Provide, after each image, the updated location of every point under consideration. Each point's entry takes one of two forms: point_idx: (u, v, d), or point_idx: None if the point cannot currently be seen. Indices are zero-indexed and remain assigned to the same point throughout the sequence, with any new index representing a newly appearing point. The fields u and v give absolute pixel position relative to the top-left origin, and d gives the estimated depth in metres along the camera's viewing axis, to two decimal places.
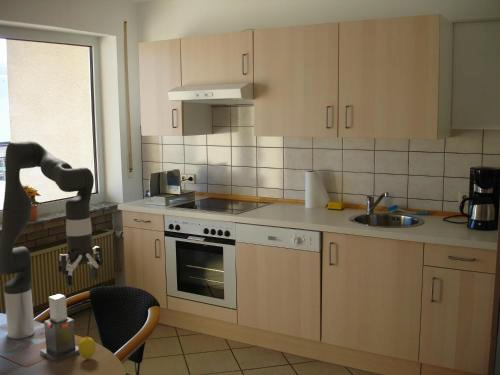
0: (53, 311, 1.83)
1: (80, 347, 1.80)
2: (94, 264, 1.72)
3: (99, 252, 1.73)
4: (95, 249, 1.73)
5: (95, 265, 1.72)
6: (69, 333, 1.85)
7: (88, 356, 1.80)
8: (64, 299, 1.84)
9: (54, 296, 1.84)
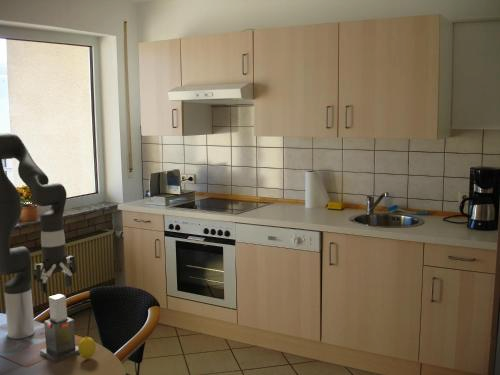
0: (53, 311, 1.83)
1: (80, 347, 1.80)
2: (68, 272, 1.85)
3: (72, 261, 1.87)
4: (69, 258, 1.86)
5: (69, 273, 1.86)
6: (69, 333, 1.85)
7: (88, 356, 1.80)
8: (64, 299, 1.84)
9: (54, 296, 1.84)
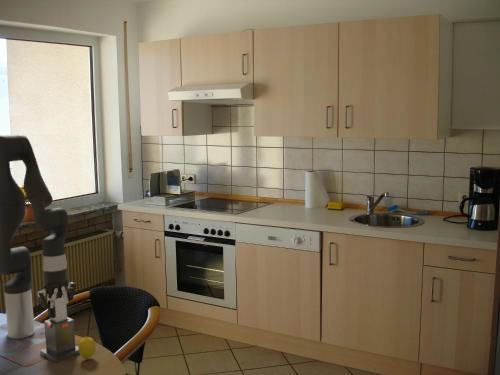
0: None
1: (80, 347, 1.80)
2: None
3: (73, 288, 1.87)
4: (70, 284, 1.87)
5: None
6: (69, 333, 1.85)
7: (88, 356, 1.80)
8: (64, 299, 1.84)
9: None
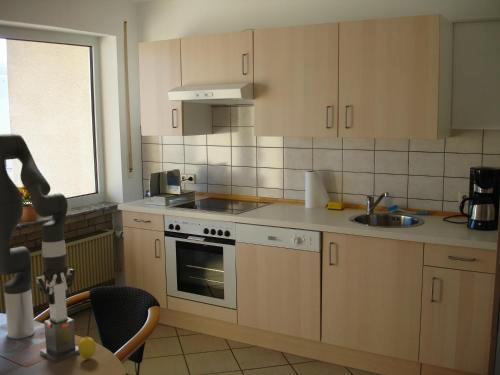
0: None
1: (80, 347, 1.80)
2: None
3: (72, 274, 1.87)
4: (69, 270, 1.87)
5: None
6: (69, 333, 1.85)
7: (88, 356, 1.80)
8: (63, 285, 1.84)
9: None
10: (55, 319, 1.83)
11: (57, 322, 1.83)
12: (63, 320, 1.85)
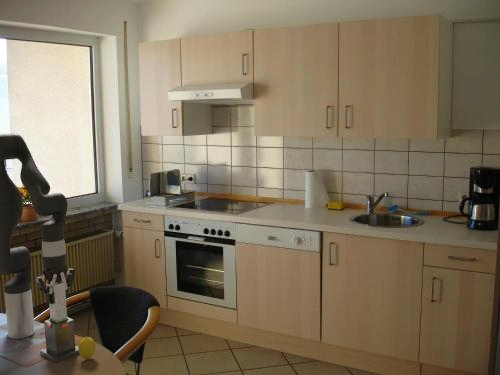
0: None
1: (80, 347, 1.80)
2: None
3: (72, 274, 1.87)
4: (69, 270, 1.87)
5: None
6: (69, 333, 1.85)
7: (88, 356, 1.80)
8: (63, 285, 1.84)
9: None
10: (55, 319, 1.83)
11: (57, 322, 1.83)
12: (63, 320, 1.85)
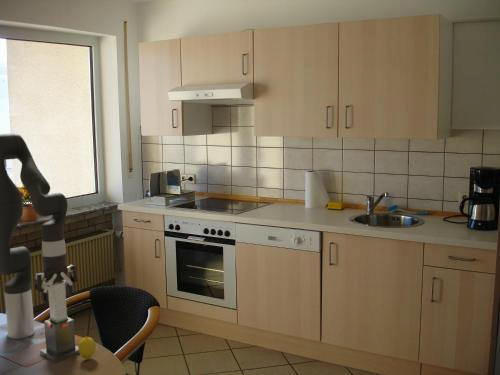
0: (52, 297, 1.82)
1: (80, 347, 1.80)
2: (68, 282, 1.86)
3: (73, 270, 1.87)
4: (69, 268, 1.87)
5: (69, 283, 1.86)
6: (69, 333, 1.85)
7: (88, 356, 1.80)
8: (63, 285, 1.84)
9: None
10: (55, 319, 1.83)
11: (57, 322, 1.83)
12: (63, 320, 1.85)
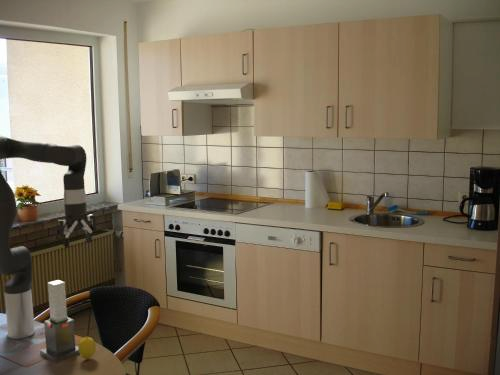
0: (52, 297, 1.82)
1: (80, 347, 1.80)
2: (88, 229, 1.98)
3: (93, 219, 1.99)
4: (89, 217, 1.98)
5: (89, 230, 1.98)
6: (69, 333, 1.85)
7: (88, 356, 1.80)
8: (63, 285, 1.84)
9: (53, 282, 1.84)
10: (55, 319, 1.83)
11: (57, 322, 1.83)
12: (63, 320, 1.85)
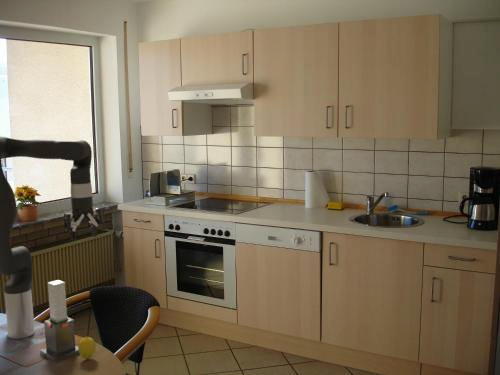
0: (52, 297, 1.82)
1: (80, 347, 1.80)
2: (94, 223, 2.02)
3: (98, 213, 2.03)
4: (95, 210, 2.03)
5: (95, 224, 2.02)
6: (69, 333, 1.85)
7: (88, 356, 1.80)
8: (63, 285, 1.84)
9: (53, 282, 1.84)
10: (55, 319, 1.83)
11: (57, 322, 1.83)
12: (63, 320, 1.85)
